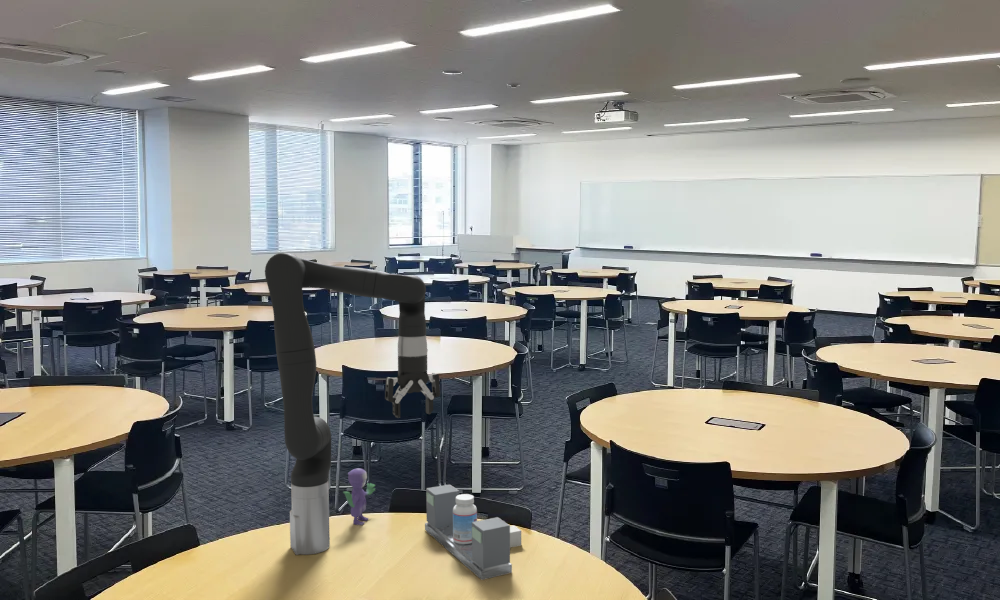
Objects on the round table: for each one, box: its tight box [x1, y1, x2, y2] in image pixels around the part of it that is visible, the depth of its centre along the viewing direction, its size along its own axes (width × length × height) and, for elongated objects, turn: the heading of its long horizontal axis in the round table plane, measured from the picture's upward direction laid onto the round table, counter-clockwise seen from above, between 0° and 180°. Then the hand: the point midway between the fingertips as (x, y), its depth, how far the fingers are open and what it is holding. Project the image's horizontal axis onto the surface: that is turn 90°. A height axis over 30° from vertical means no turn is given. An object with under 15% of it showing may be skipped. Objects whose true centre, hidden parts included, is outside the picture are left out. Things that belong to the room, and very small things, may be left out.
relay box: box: [510, 525, 522, 549], centre depth 190 cm, size 6×4×4 cm, turn 117°
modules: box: [425, 484, 511, 569], centre depth 187 cm, size 7×34×9 cm, turn 28°
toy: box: [342, 467, 376, 526], centre depth 206 cm, size 18×6×15 cm, turn 168°
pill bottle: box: [453, 493, 478, 544], centre depth 186 cm, size 6×6×11 cm
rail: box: [424, 522, 513, 580], centre depth 187 cm, size 8×34×2 cm, turn 28°
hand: (413, 415), depth 191 cm, fingers open, 8 cm apart
